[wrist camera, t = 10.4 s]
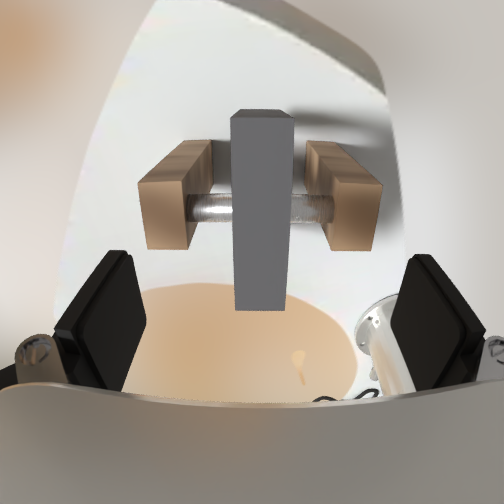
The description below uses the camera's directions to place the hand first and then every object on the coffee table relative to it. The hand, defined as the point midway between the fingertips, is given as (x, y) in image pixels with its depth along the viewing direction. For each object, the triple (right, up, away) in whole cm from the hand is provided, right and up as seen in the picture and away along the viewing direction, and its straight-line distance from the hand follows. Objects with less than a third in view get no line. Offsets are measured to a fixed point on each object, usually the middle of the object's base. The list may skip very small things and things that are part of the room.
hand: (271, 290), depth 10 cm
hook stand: (0, +11, +23) cm, 25 cm away
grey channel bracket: (0, +8, +19) cm, 20 cm away
